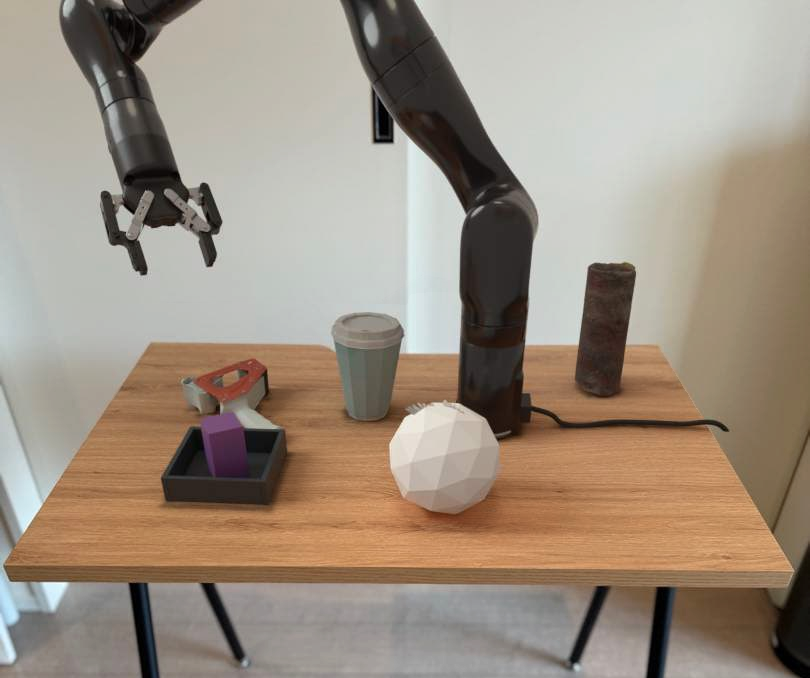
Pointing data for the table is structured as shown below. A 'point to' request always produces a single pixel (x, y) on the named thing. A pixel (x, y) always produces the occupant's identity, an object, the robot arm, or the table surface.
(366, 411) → the disposable coffee cup
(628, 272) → the candle
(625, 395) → the table surface
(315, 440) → the table surface
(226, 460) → the plum block
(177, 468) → the tray
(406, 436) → the geodesic sphere
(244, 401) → the tape dispenser
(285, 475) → the table surface
